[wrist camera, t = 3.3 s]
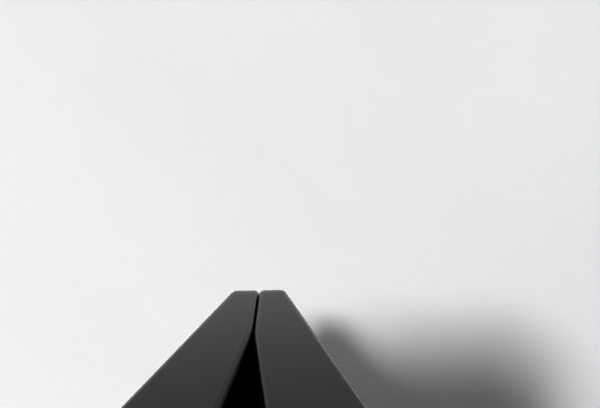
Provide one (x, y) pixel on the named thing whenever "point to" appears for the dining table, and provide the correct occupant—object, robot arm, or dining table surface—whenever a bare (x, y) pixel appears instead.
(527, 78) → the dining table surface
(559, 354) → the dining table surface
